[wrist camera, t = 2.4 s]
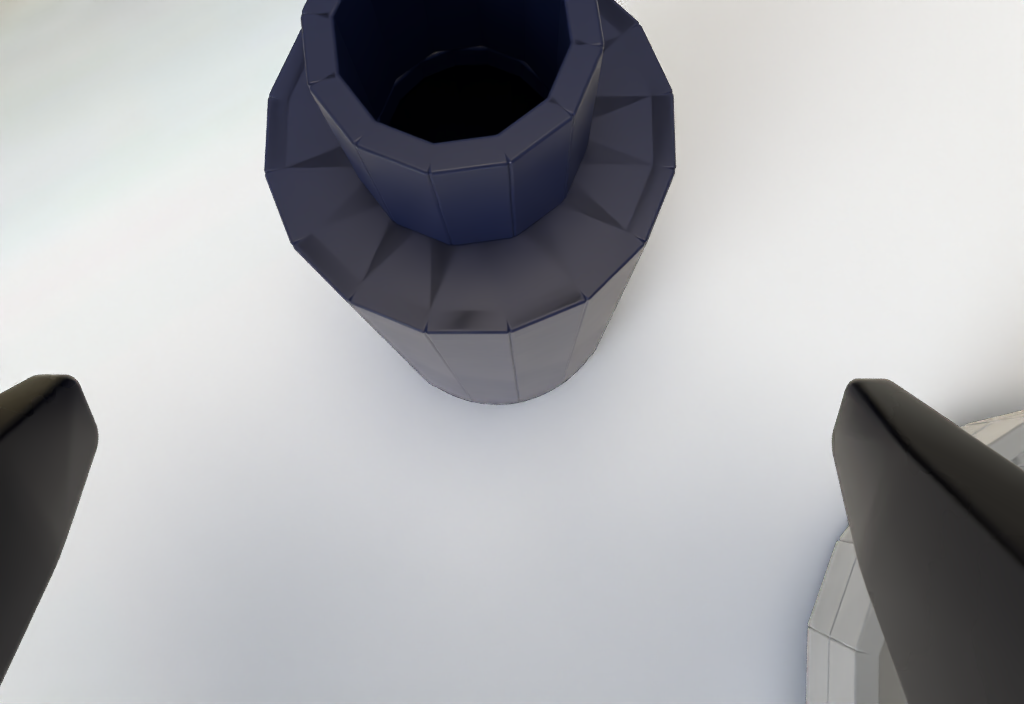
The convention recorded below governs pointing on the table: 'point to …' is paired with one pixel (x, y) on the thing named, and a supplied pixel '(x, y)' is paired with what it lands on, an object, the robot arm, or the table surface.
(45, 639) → the table surface
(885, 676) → the steel dish
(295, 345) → the table surface
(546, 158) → the dark blue vase
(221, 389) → the table surface
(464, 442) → the table surface
